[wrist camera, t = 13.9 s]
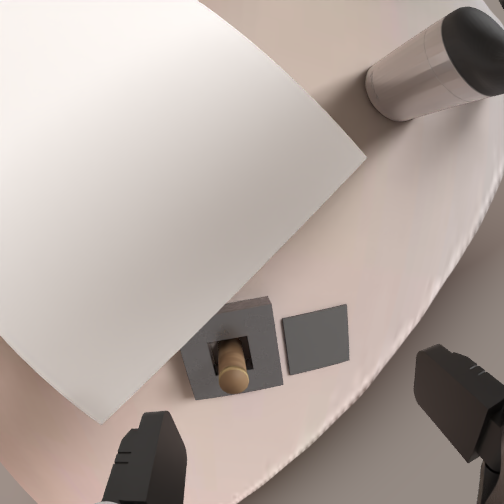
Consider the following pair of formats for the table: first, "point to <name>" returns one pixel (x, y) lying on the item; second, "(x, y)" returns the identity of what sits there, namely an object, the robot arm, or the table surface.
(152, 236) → the cube
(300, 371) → the mat
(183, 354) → the gray square frame
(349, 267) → the table surface
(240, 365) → the wooden peg
